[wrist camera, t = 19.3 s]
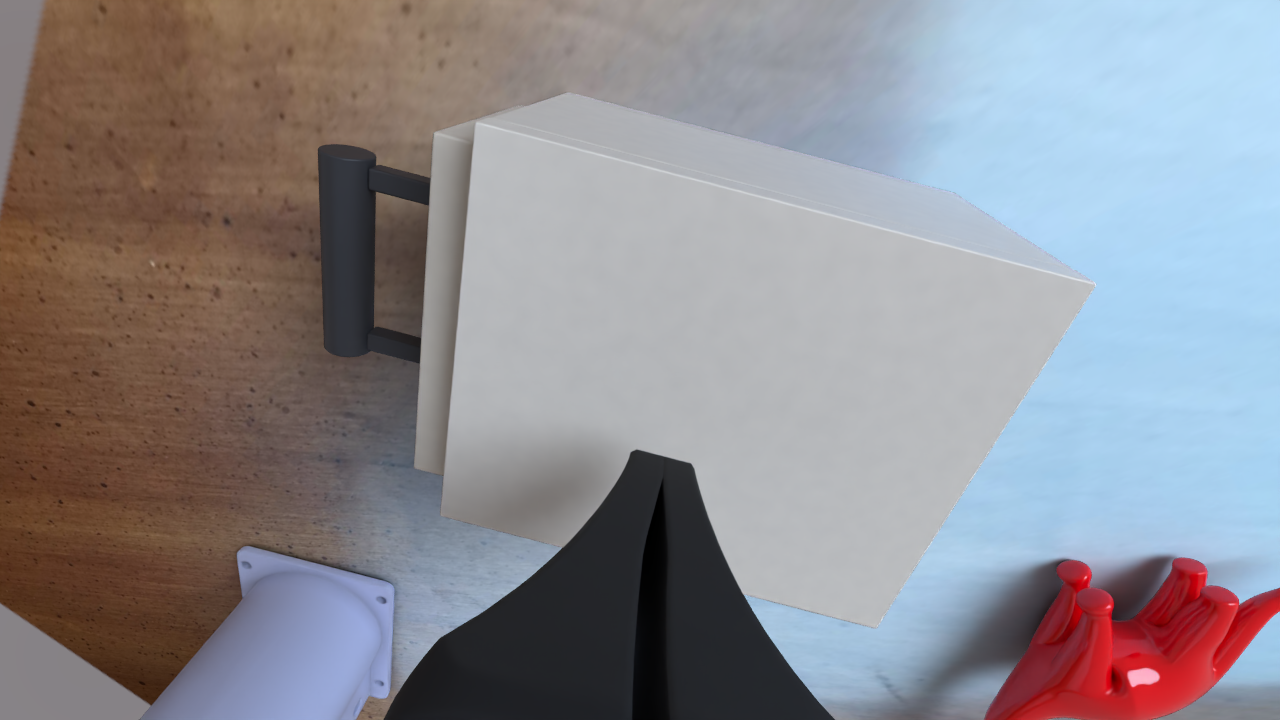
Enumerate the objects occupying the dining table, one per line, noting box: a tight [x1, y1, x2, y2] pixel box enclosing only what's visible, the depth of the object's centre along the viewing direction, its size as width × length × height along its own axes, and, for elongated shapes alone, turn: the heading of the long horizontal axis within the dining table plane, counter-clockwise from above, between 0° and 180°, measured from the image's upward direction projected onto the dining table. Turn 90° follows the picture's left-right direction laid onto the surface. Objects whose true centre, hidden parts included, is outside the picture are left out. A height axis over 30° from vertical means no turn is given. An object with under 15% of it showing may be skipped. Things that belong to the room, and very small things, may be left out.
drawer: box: [318, 105, 525, 476], centre depth 18 cm, size 16×9×6 cm, turn 77°
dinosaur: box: [984, 558, 1280, 720], centre depth 25 cm, size 4×15×12 cm
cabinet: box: [440, 92, 1096, 628], centre depth 18 cm, size 13×11×8 cm
